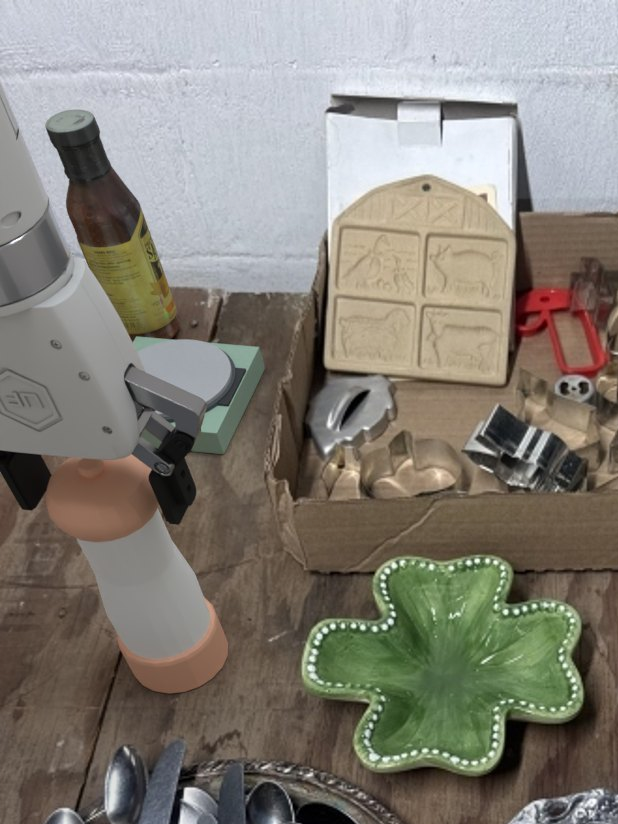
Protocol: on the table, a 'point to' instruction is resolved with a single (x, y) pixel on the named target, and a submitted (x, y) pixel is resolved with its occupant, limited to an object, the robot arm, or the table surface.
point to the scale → (205, 382)
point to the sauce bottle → (112, 229)
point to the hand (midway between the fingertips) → (109, 502)
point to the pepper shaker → (139, 572)
